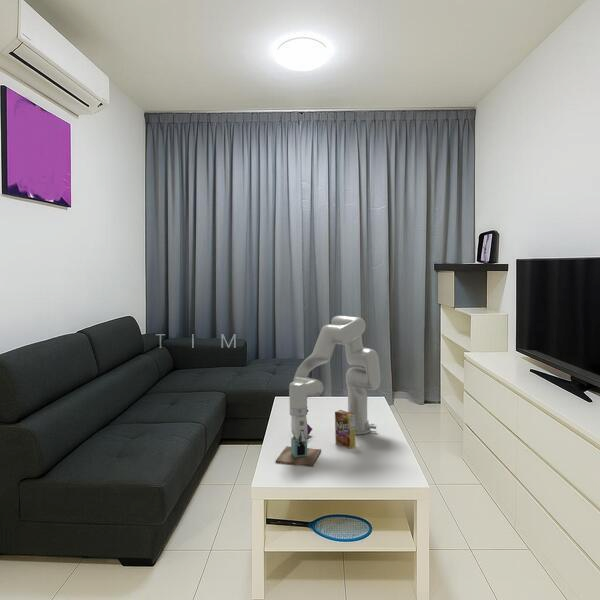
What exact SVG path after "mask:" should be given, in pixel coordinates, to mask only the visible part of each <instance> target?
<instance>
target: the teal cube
mask: <svg viewBox="0 0 600 600" xmlns="http://www.w3.org/2000/svg"><path fill="white" fill-rule="evenodd" d="M299 439H300V438H299ZM299 441H301V440H299ZM290 445H291V446H290V447H291V453H292V454H293V456H294V457H302V456H307V448H308V441H307V440H306V439H305V455H297V446H298V440H297V439H296V438H294V439H293V438H291V439H290Z"/></svg>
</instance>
